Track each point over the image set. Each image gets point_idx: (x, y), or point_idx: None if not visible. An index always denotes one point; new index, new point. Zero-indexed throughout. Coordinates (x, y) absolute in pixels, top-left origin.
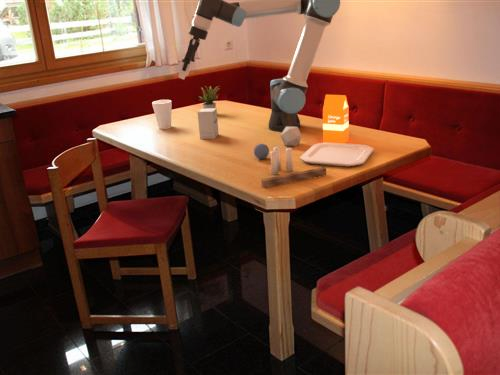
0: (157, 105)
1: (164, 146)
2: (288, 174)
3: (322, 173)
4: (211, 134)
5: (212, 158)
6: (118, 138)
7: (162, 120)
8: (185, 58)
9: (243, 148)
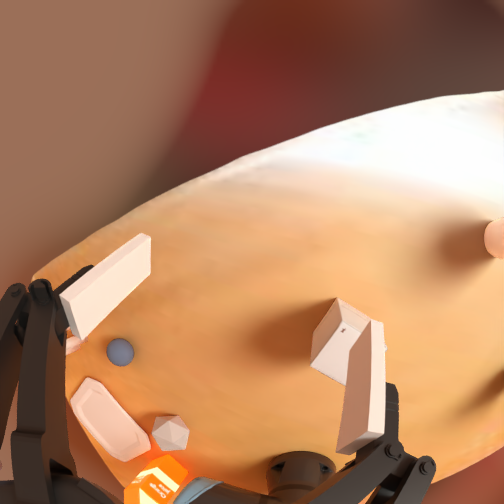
0: None
1: (318, 188)
2: None
3: None
4: (317, 329)
5: (162, 271)
6: (446, 105)
7: (495, 229)
8: (6, 301)
9: (196, 354)
